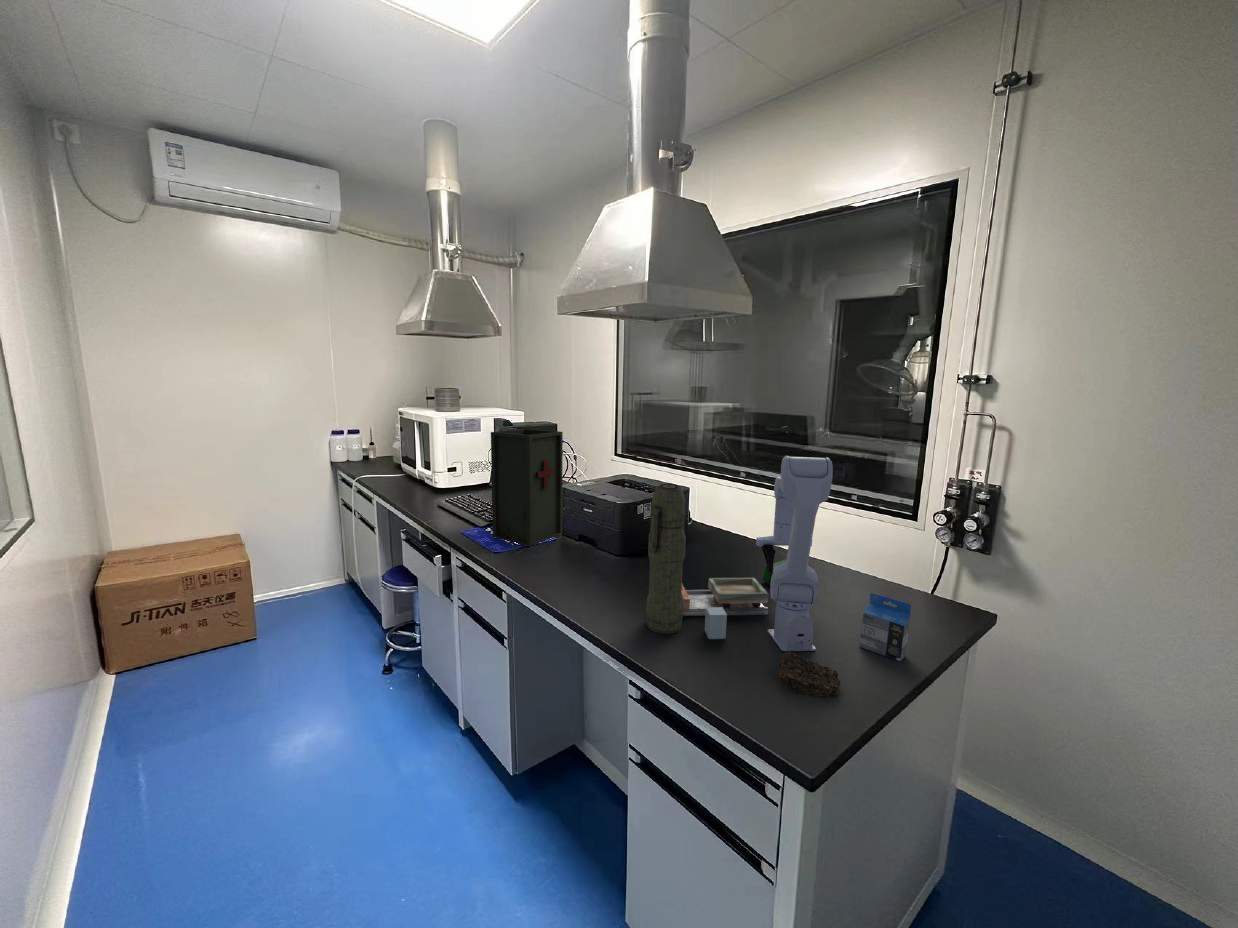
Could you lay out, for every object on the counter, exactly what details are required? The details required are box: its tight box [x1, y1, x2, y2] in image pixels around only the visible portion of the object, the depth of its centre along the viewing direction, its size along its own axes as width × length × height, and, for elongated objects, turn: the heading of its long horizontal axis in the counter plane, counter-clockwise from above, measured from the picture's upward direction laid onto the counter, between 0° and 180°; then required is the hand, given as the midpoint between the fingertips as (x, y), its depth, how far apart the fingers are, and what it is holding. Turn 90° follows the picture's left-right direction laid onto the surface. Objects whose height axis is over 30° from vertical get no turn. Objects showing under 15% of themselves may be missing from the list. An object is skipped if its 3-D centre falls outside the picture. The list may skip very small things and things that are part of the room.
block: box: [704, 607, 728, 640], centre depth 121 cm, size 4×4×6 cm
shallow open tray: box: [707, 577, 769, 608], centre depth 137 cm, size 11×13×4 cm
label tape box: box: [859, 592, 912, 662], centre depth 114 cm, size 9×4×12 cm, turn 45°
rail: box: [681, 583, 769, 617], centre depth 137 cm, size 12×22×4 cm, turn 94°
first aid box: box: [490, 428, 564, 548], centre depth 191 cm, size 18×18×40 cm
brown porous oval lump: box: [777, 651, 841, 697], centre depth 101 cm, size 12×10×5 cm
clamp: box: [762, 558, 787, 585], centre depth 154 cm, size 12×6×9 cm, turn 122°
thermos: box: [645, 483, 687, 635], centre depth 123 cm, size 9×12×35 cm
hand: (781, 571), depth 137 cm, fingers open, 6 cm apart
